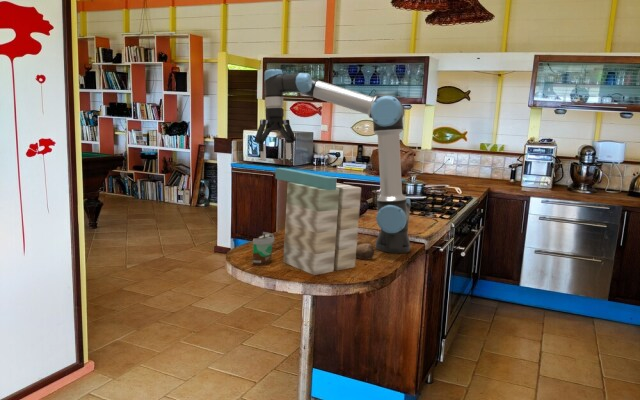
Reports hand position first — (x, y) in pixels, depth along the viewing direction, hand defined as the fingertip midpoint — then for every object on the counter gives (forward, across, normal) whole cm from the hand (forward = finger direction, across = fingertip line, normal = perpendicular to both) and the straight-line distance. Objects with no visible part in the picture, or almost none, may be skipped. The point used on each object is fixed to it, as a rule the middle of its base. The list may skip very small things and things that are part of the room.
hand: (276, 158), depth 213 cm
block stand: (+39, +7, +33) cm, 51 cm away
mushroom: (+40, -15, +35) cm, 55 cm away
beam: (+8, +11, +30) cm, 34 cm away
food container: (+37, +23, +20) cm, 48 cm away
